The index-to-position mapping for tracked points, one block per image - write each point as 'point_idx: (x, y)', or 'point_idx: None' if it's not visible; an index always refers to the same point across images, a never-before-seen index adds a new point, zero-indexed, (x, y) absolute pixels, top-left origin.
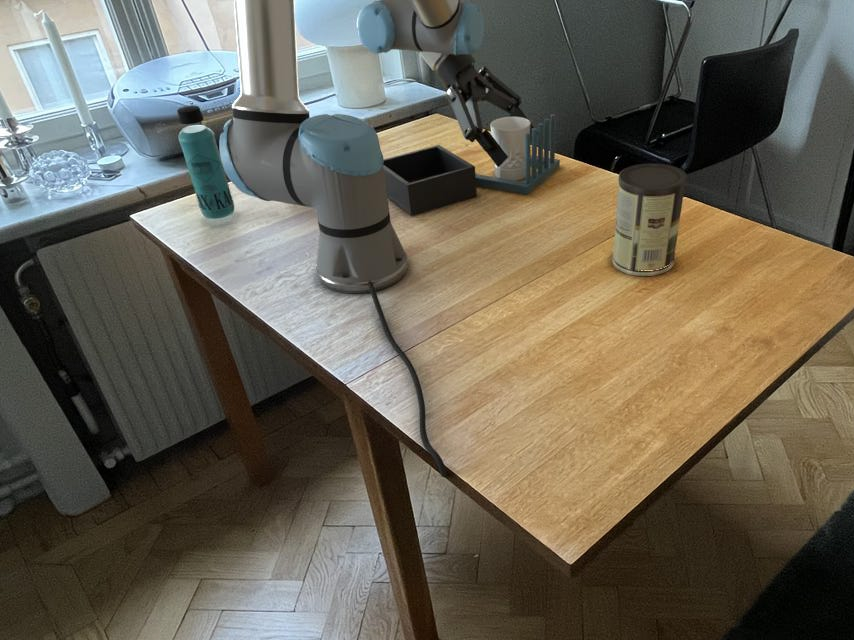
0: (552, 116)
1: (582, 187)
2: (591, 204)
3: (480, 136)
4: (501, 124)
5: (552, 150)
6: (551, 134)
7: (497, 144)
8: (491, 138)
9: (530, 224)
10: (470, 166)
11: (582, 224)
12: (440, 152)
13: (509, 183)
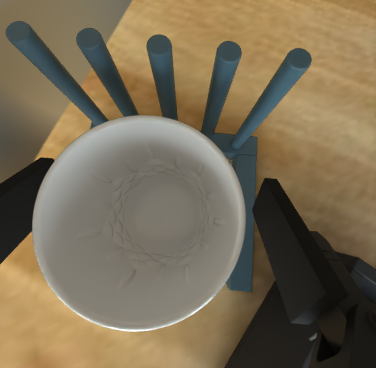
0: (33, 33)
1: (183, 62)
2: (247, 30)
3: (360, 297)
4: (90, 284)
5: (104, 115)
6: (81, 91)
7: (289, 214)
8: (313, 242)
9: (362, 97)
10: (365, 272)
11: (324, 23)
12: None
13: (255, 180)
